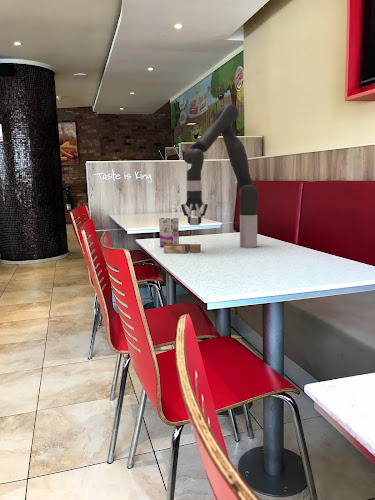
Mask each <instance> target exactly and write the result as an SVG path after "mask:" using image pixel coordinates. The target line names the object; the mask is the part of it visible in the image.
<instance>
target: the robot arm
mask: <svg viewBox="0 0 375 500" xmlns="http://www.w3.org/2000/svg"><path fill="white" fill-rule="evenodd" d="M238 118H239V109H238V107H237V106H236V105H235V104H234V103H227V104H225V105H223V106H221V107H219V108H218V109H217V110H216V112H215V121H214V122H213V123H212V124H211V125H210V126H209V127H208V128H207V129H206V130H205V131H204V132H203V133H202V134H201V136H199V138H198V139H197V141H196V142H193V144H191V145H190V146H189V147H188V148H187V149H185V152H184V154H183V161H184V162H185V163H186V164H188V165H190V166H191V167H190V168H189V169H187V171H186V203H183V204H180V207H181V210H182V213H183V215H184V216H185V217H187V223H188V225H190V218H192V212H193V211H196V212H197V216H198V217H197V218H198V224H199V225H201V224H202V217H203V216H205V215H206V212H207V210H208V207H209V204H207V203H205V202H203V186H202V169H203V166H204V161H205V160H204V159H205V155H204V153H206V152H207V151H208V150H210V148H211V147H212V145H213V144H214V143H215V142H216V141H217V139H218V138H219V137H220V136H222V138H223V142H224V145H225V148H226V153H227V156H228V159H229V162H230V166H231V167H232V170H233V173H234V176H235V177H236V180H237V181H236V182H237V187H238V192H239V193H238V194H239V198H240V199H239V201H240V202H239V205H240V206H239V248H247V249H248V248H249V249H251V248H253V249H254V248H257V247H258V211H259V210H258V208H259V192H258V189H257V187H256V186H255V185H254V182H253V181H252V180H253V179H252V177H251V175H250V168H249V167H250V166H249V159H248V155H247V152H246V149H245V146H244V144H243V142H242V141H241V140H240V139H239V137H238V136H237V135H236V134H235V132H234V128H233V125H232V124H233V123H234V122H235V121H236V120H237V119H238ZM202 207H203V211H202V212H201V208H202ZM186 208H188V212H187V210H186ZM190 226H191V225H190Z"/></svg>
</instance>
